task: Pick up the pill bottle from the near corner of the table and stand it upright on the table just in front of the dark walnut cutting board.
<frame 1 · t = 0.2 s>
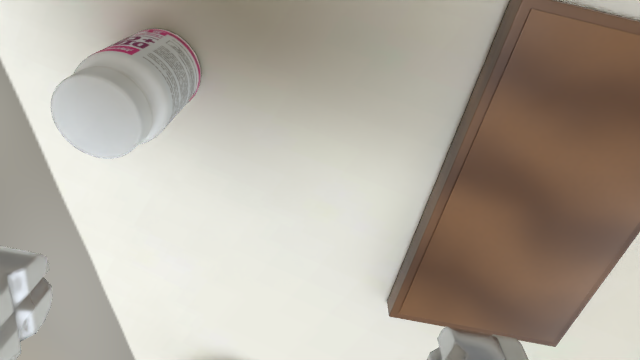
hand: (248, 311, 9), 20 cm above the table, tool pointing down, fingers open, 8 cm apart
pill bottle: (164, 66, 26), on the table
cutting board: (534, 197, 30), on the table
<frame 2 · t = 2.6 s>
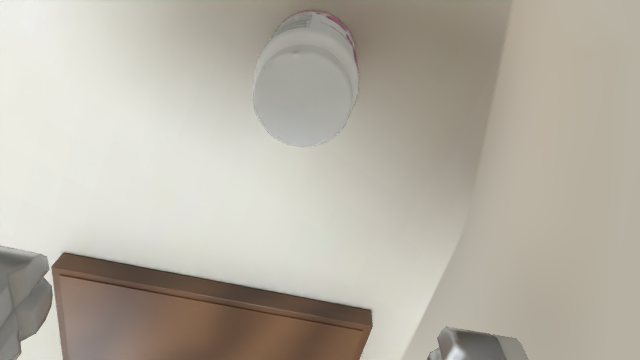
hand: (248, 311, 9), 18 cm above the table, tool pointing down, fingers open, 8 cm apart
pill bottle: (313, 52, 25), on the table
cutting board: (213, 342, 37), on the table
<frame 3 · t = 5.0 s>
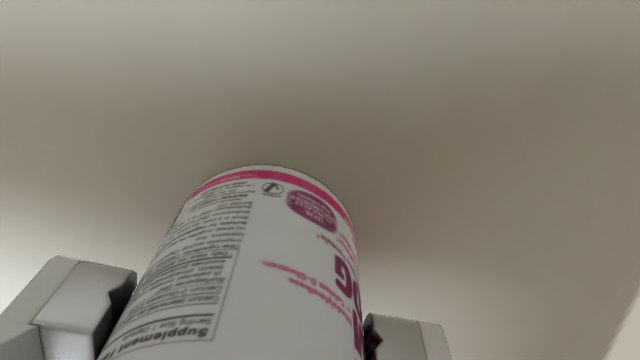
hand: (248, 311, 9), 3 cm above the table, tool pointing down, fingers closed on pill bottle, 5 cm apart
pill bottle: (269, 231, 12), on the table, touching gripper
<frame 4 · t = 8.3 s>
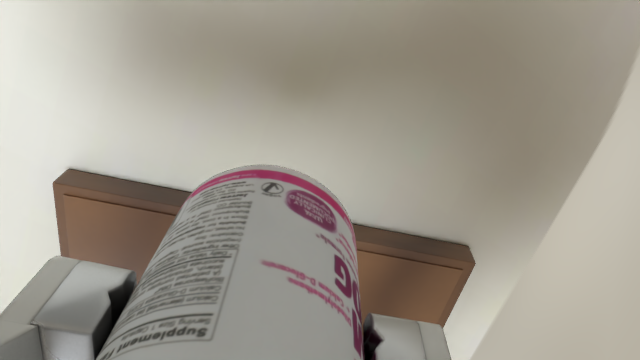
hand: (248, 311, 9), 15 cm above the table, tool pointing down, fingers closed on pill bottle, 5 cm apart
pill bottle: (269, 231, 12), point 12 cm above the table, touching gripper
cutting board: (259, 293, 29), on the table
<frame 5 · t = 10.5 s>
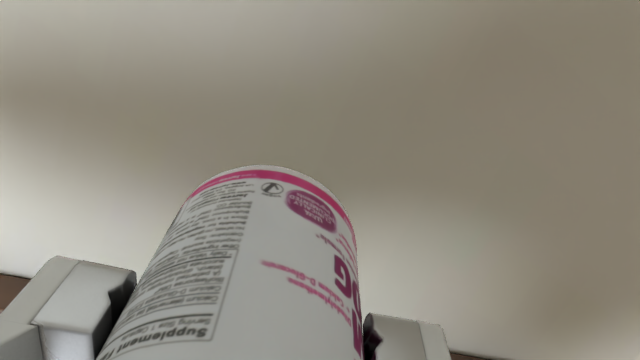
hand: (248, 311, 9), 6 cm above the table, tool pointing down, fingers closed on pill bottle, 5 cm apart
pill bottle: (269, 231, 12), point 3 cm above the table, touching gripper
when the fingers open (3 cm above the table, at t = 11.9 s): pill bottle stays where it is, on the table.
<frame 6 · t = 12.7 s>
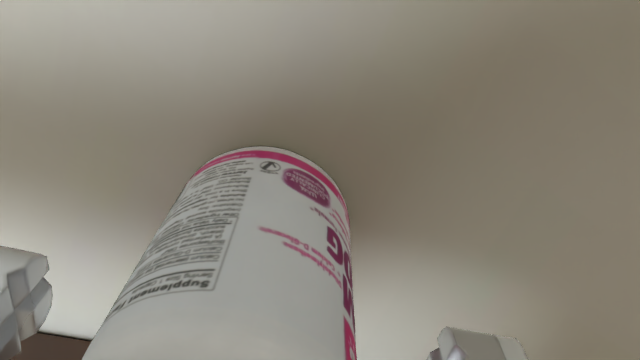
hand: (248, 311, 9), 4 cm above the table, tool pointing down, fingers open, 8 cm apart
pill bottle: (267, 211, 13), on the table
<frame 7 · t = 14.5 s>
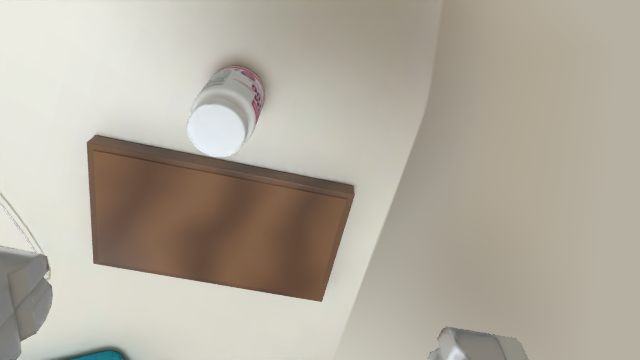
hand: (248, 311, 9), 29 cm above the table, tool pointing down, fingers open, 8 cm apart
pill bottle: (238, 91, 37), on the table
cutting board: (220, 221, 43), on the table
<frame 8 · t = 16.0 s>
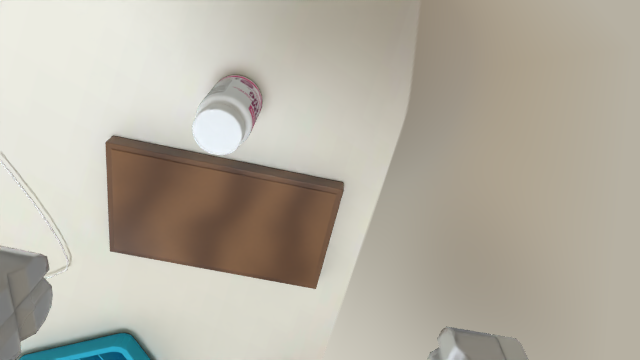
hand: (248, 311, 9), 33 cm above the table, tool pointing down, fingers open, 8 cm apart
pill bottle: (238, 97, 41), on the table
cutting board: (223, 214, 48), on the table
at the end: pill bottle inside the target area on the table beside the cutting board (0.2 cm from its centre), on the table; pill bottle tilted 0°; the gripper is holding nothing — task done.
